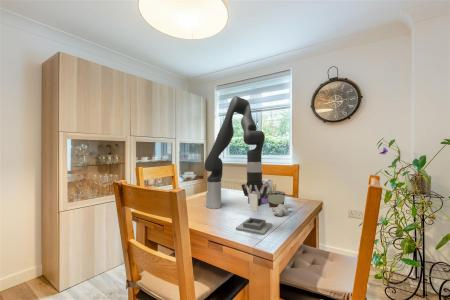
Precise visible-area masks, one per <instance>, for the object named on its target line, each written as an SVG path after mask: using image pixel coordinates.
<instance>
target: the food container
mask: <svg viewBox="0 0 450 300" xmlns="http://www.w3.org/2000/svg"><path fill="white" fill-rule="evenodd" d="M267 195H268V200H269V203H268V207H269V208H275V207H278V205H279V204H283V205H285V198H286V196H287V195H286V192H285V191H281V190H272V191H269V192H268V193H267Z"/></svg>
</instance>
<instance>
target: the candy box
mask: <svg viewBox="0 0 450 300" xmlns="http://www.w3.org/2000/svg"><path fill="white" fill-rule="evenodd" d="M262 183H263V185H266V186H268V190H267V193H268V192H269V191H273V179H269V178H262ZM259 191H260V190H259ZM253 192H255V191H253ZM262 193H263V187H262V188H261V194H262ZM267 193H266V196H265V197H264V198H262V204H261V205H264V204H269V200H268V195H267Z"/></svg>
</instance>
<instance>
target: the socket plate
mask: <svg viewBox="0 0 450 300" xmlns="http://www.w3.org/2000/svg"><path fill="white" fill-rule="evenodd" d="M272 227H273V223H272V222H267V221H266V219H262V218H255V217H249V218H247V219H245V220H244V221H242V222H241V223H240V224H239V225H237V226H236V227H235V230H236V231H240V232H244V233H250V234H255V235H260V236H264V235H265V234H266V233H267V232H268V231H269V230H270V229H271V228H272Z"/></svg>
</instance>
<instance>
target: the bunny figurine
mask: <svg viewBox="0 0 450 300" xmlns="http://www.w3.org/2000/svg"><path fill="white" fill-rule="evenodd" d="M291 208H293V207H292V205H291V204H288V205H286V204H284V205H283V204H279V205H278V207H275V208H272V212H273V215H274V216H277V217H283V216H284V215H289V210H288V209H291Z"/></svg>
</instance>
